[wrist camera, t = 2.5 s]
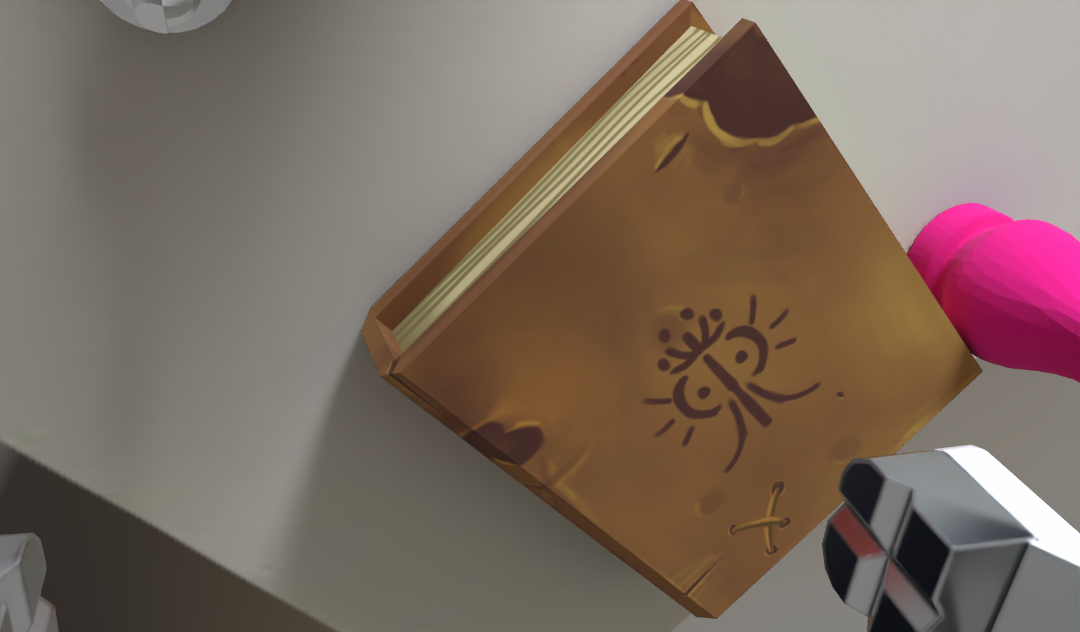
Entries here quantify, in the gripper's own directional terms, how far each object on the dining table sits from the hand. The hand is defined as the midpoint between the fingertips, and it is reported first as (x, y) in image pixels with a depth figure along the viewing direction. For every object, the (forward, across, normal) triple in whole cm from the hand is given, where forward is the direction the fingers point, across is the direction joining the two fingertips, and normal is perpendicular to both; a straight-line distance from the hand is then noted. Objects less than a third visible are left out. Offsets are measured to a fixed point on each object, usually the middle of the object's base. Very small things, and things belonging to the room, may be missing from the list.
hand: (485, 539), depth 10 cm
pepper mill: (+31, -32, +12) cm, 46 cm away
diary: (+29, -16, +14) cm, 36 cm away
